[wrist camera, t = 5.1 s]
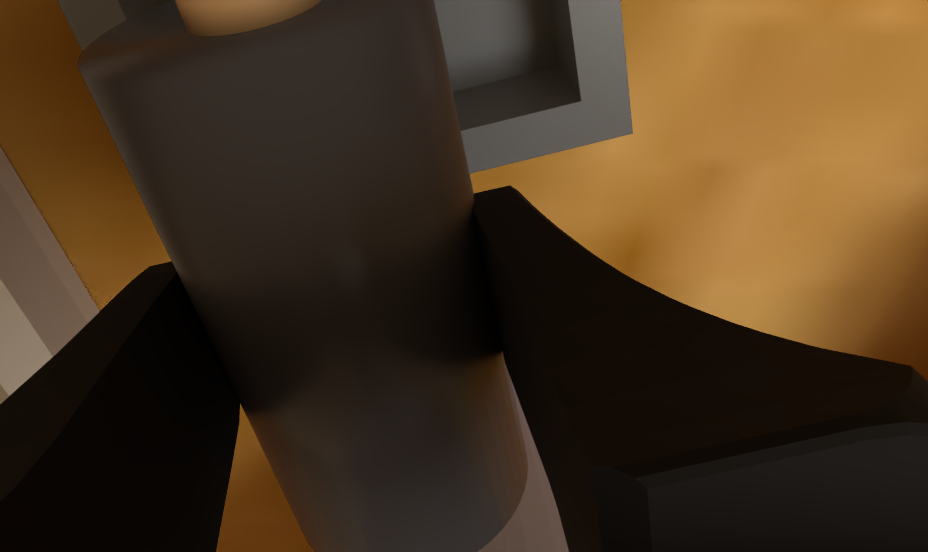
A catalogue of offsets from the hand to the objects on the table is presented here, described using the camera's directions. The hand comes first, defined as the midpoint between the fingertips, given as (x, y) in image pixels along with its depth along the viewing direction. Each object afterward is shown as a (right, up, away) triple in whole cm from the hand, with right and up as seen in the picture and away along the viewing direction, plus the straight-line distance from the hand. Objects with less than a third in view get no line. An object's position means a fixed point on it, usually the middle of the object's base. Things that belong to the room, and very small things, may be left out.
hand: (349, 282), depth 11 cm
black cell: (0, +1, +1) cm, 2 cm away
